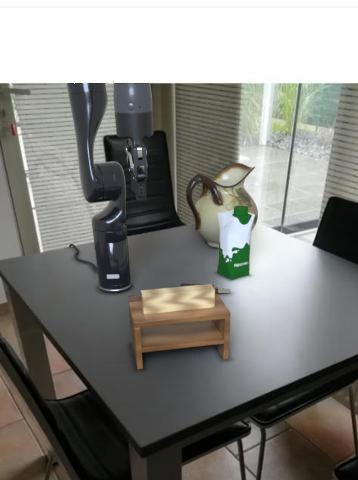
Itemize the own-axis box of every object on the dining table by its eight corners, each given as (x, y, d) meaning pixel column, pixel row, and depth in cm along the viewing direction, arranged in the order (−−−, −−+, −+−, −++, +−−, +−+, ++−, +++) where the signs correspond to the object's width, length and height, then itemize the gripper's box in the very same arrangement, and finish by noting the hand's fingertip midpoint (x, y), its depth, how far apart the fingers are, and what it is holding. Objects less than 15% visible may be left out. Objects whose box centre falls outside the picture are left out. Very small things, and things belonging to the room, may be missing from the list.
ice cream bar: (230, 290, 136) (178, 288, 138) (230, 284, 135) (178, 283, 137) (230, 297, 132) (176, 296, 134) (230, 291, 131) (175, 290, 133)
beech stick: (210, 301, 104) (211, 283, 101) (214, 307, 101) (215, 289, 99) (141, 308, 101) (140, 290, 99) (143, 314, 99) (142, 296, 97)
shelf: (132, 345, 111) (127, 295, 104) (216, 335, 114) (217, 287, 107) (137, 369, 102) (133, 317, 95) (228, 359, 105) (230, 307, 98)
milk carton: (230, 281, 141) (233, 211, 130) (212, 272, 148) (214, 205, 137) (253, 275, 145) (258, 206, 134) (235, 266, 152) (238, 200, 140)
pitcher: (260, 236, 177) (266, 162, 163) (248, 257, 159) (253, 176, 145) (202, 232, 183) (202, 160, 169) (184, 252, 165) (182, 173, 150)
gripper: (157, 111, 90) (161, 202, 99) (147, 106, 101) (151, 187, 110) (117, 113, 89) (124, 204, 98) (111, 107, 100) (118, 189, 109)
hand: (138, 195), depth 104 cm, fingers open, 8 cm apart
